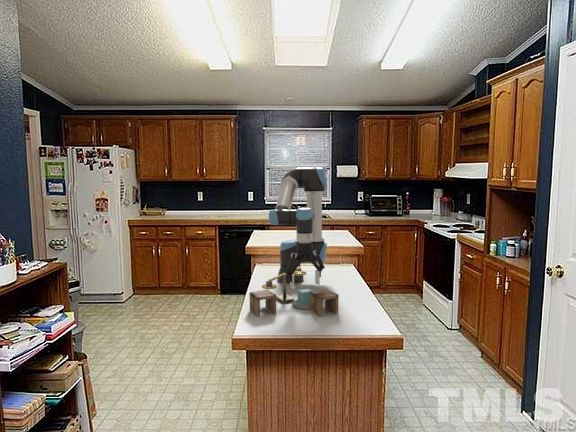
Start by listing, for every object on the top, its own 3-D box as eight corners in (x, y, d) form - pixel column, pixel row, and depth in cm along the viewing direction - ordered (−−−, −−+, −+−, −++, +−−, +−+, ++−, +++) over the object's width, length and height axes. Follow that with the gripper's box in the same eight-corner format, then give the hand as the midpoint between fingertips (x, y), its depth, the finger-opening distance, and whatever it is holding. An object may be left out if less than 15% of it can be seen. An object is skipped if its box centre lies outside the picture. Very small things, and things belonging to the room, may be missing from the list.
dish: (287, 303, 189) (287, 301, 189) (309, 299, 194) (309, 297, 194) (299, 311, 178) (299, 308, 178) (322, 306, 184) (322, 304, 184)
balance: (259, 301, 192) (258, 270, 190) (301, 294, 203) (301, 264, 201) (266, 306, 185) (265, 273, 183) (309, 298, 196) (309, 267, 194)
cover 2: (310, 310, 179) (310, 292, 178) (327, 307, 183) (327, 289, 182) (321, 317, 171) (321, 297, 170) (338, 313, 175) (338, 294, 174)
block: (297, 302, 187) (297, 289, 186) (306, 300, 189) (306, 288, 189) (302, 305, 183) (302, 292, 182) (312, 303, 185) (312, 290, 184)
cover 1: (249, 310, 180) (249, 292, 179) (267, 307, 184) (267, 289, 183) (257, 317, 172) (257, 297, 171) (276, 313, 176) (276, 294, 175)
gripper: (284, 246, 174) (284, 292, 177) (332, 240, 186) (331, 284, 188) (276, 243, 181) (277, 288, 184) (323, 237, 192) (323, 280, 195)
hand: (305, 286), depth 186 cm, fingers open, 13 cm apart
